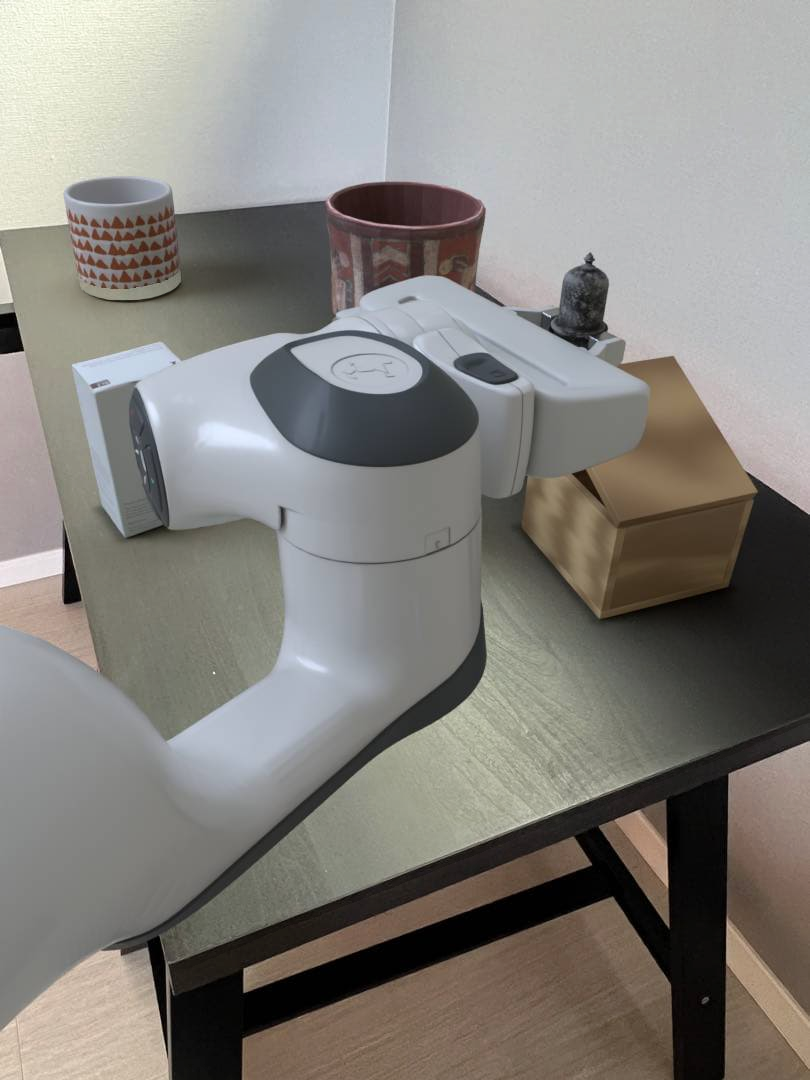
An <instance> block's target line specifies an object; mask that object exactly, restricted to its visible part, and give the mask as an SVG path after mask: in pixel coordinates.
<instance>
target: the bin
mask: <svg viewBox="0 0 810 1080" xmlns="http://www.w3.org/2000/svg"><path fill="white" fill-rule="evenodd" d="M525 487H526V489H525V497H524V504H523V512H522V521H521V529H522V530H523V531H524V533H525V534H526V535H527V537H529V538H530V539H531V541H532V542H533V543H534V544H535V545H536V547H537V548H538V549H539V550H540V551H541V552H542V554H543V555H544V556H545V557H546V558H547V560H548V561H549V562H550V563H551V565H553V567H554V568H555V569H556V571H558V572H559V573H560V575H561V576H562V577H563V579H565V581H566V582H567V583H568V584H569V586H570V587H571V588H572V589H573V590H574V591H575V592H576V594H577V595H578V596H579V597H580V599H581V600H582V601H583V602H584V603H585V604H586V606H588V608H589V609H590V610H591V611H592V612H593V614H594V615H595V616H596V617H597V618H598V620H603V619H608V618H610V617H614V616H615V617H616V616H619V615H623V614H626V613H630V612H634V611H638V610H643V609H646V608H650V607H654V606H658V605H663V604H667V603H670V602H674V601H678V600H682V599H686V598H690V597H695V596H698V595H702V594H705V593H710V592H714V591H717V590H721V589H725V588H728V587H729V586H730V582H731V578H732V575H733V572H734V568H735V565H736V561H737V560H738V559H737V558H738V555H739V551H740V548H741V545H742V542H743V538H744V534H745V530H746V528H747V525H748V522H749V518H750V515H751V511H752V508H753V505H754V498H750V499H745V500H741V501H736V502H732V503H727V504H723V505H718V506H714V507H709V508H704V509H700V510H695V511H691V512H686V513H682V514H677V515H672V516H668V517H663V518H659V519H654V520H650V521H645V522H640V523H636V524H631V525H627V526H622V527H618V528H617V527H616V526H615V524H614V522H613V520H612V518H611V516H610V514H609V512H608V510H607V509H606V507H605V505H604V503H603V501H602V499H601V497H600V495H599V493H598V491H597V489H596V488H595V486H594V484H593V482H592V480H591V478H590V476H589V474H588V472H587V470H586V469H585V470H582V471H579V472H575V473H572V474H569V475H565V476H561V477H555V478H534V477H529V476H527V481H526V486H525Z"/></svg>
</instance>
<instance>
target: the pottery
mask: <svg viewBox="0 0 810 1080" xmlns="http://www.w3.org/2000/svg"><path fill="white" fill-rule="evenodd" d="M486 211H487V209H486V207H485V205H484V204H483V202H482V200H481V199H479V198H477V197H476V196H473V195H471V194H470V193H468V192H466V191H463V190H460V189H456V188H453V187H450V186H447V185H440V184H434V183H428V182H418V181H404V180H403V181H399V180H398V181H376V182H375V181H374V182H363V183H358V184H355V185H350V186H347V187H344V188H342V189H339V190H338V191H335V192H333V193H332V194H330V196H329V197H328V198H327V199H326V200H325V202H324V214H325V220H326V228H327V233H328V245H329V254H330V266H331V267H330V268H331V272H330V273H331V274H330V275H331V276H330V277H331V281H330V282H331V288H330V289H331V291H330V293H331V295H330V296H331V301H330V302H331V312H332V314H331V315H332V319H334V318H335V317H336V314H337V313H338V312H340V311H342V310H346V309H350V308H355V307H359V302H360V300H361V298H362V297H363V296H364V295H366V294H368V293H370V292H372V291H374V290H377V289H380V288H382V287H385V286H388V285H392V284H395V283H398V282H401V281H405V280H408V279H412V278H416V277H419V276H442V277H445V278H448V279H449V280H451V281H453V282H455V283H457V284H459V285H461V286H463V287H465V288H466V289H468V290H470V291H472V292H474V293H476V285H477V275H478V274H477V273H478V264H479V257H480V248H481V243H482V237H483V231H484V228H485V227H484V226H485V222H486Z"/></svg>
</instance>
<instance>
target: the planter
mask: <svg viewBox="0 0 810 1080" xmlns="http://www.w3.org/2000/svg"><path fill="white" fill-rule="evenodd" d="M173 194H174V193H173V188H172V186H170V184H169V183H167V182H165V181H163V180H159V179H156V178H151V177H145V176H136V175H135V176H134V175H133V176H132V175H114V176H103V177H102V176H101V177H95V178H90V179H85V180H80V181H78V182H75V183H72V184H69V185H68V186H67V187H66V188H65V189H64V191H63V200H64V206H65V212H66V217H67V223H68V229H69V234H70V239H71V246H72V251H73V258H74V263H75V269H76V274H77V277H78V276H79V278H80V279H82V280H83V281H84V282H86V283H88V284H90V285H93V286H97V287H101V288H110V289H130V288H136V287H143V286H147V285H153V284H156V283H161V282H163V281H165V280H168V279H169V278H171V277H173V276H174V275H176V274H177V273H178V272H179V270H180V267H181V258H180V250H179V240H178V231H177V223H176V212H175V205H174V196H173Z"/></svg>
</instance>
